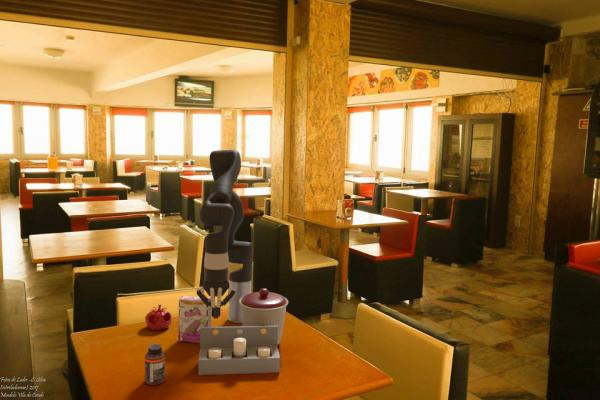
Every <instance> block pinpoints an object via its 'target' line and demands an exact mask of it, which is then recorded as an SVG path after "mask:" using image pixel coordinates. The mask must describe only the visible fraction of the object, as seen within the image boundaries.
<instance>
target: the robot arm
mask: <svg viewBox="0 0 600 400" xmlns="http://www.w3.org/2000/svg"><path fill="white" fill-rule="evenodd" d="M209 167H210V171H211V175H212V178H213V182H214V183H212V185H211V188H210V192H209V196H208V197H207V199H206V200H205V201H204V202H203V204H202V206H201V208H200V210H199V219H200V222H201V223H202V225H205V226H208V227H209V226H210V227H211V226H212V227H217V226H218V227H221V229H220V230H219V231H218V230H217V231H214V232H210V233H207V234H206V235H205V240H204V241H205V252H204V254H205V255H204V263H203V267H204V273H203V274H204V277H203V279H204V281H203V283H202V286H201V287H199V288H197V290H196V291H195V292H196V295H197V297H200V299H201V300H202V301H203V302H204V303H205V305H206V306H211V318H213V319H219V318H220V317H221V308H222V307H223V306H226V305H227V304H228V318H227V319H228V321H229V322H231V323H235V324H242V313H241V305H240V303H239V300H240V299H241V298H242V297H244V296H245V295H247V294H250V293H252V280H253V279H252V275H253V262H254V261H253V259H254V245H253V243H252V242H249V241H239V240H236V239H235V234H236V232H237V230H238V229H239V228H240V226H241V225H242V223H243V221H244V218H245V213H244V212H245V211H244V205H243V201H242V199H241V197H240V196H239V194H237V193H236V191H234V190H233V189H234V187H235V184H236V182H237V179H238V178H239V176H240V174H241V173H240V172H241V169H242V157H241V154H240V152H239V151H238V150H237V149H220V150H219V149H217V150H212V151H211V152H210V153H209ZM229 263H231V264H239V265H242V268H239V269H235V270H232V271H231V272H230V273H229ZM226 292H227V295H226V296H225V297H224V298H223V299H222V297H223V296H224V295H225V294H226ZM205 293H206V294H207V295H208V296H209V297H210V298H211V301H209V299H208V298H209V297H207V295H206V294H205ZM216 297H217V299H216Z"/></svg>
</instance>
